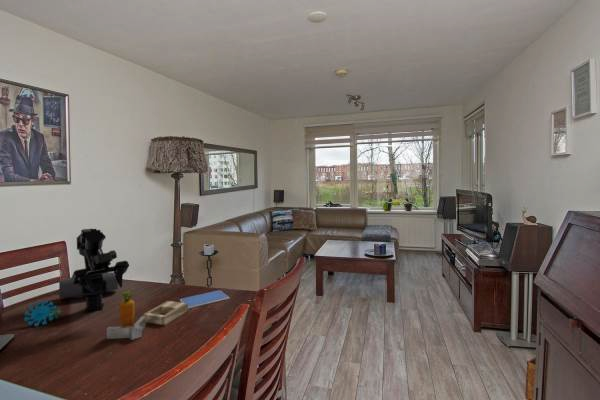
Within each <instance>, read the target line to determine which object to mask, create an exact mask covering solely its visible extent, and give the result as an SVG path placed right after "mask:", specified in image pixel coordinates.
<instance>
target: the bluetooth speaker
mask: <svg viewBox="0 0 600 400" xmlns="http://www.w3.org/2000/svg"><path fill="white" fill-rule="evenodd" d="M102 275H103V279H105V281H106V282H107V292H112V291H116V290H119V284H118V282H117V280H116V278H115V275H116V274H115V273H114V271H113V272H109V273H104V274H102ZM71 278H72V276H70V277H65V278H62V279H59V282H58V284H59V285H58V287H59V288H58V295H59V298H60V299H65V298H67V299H69V298H76V299H83V298H82V292H81V285H77V284H73V283H72V280H71ZM107 292H106V293H107Z"/></svg>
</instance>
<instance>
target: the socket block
mask: <svg viewBox="0 0 600 400" xmlns="http://www.w3.org/2000/svg"><path fill="white" fill-rule="evenodd" d="M188 311H189V309H188V303H181V301H173V300H172V301H171V300H166V301H165V302H162V303H161V304H159V305H157V306H156V307H154V308H152V309H150V310H149V311H146V312H145V313H143V314H142V316H146V324H155V325H162V326H166V325H168V324H169V323H171V322H172V321H174V320H175V319H177V318H179V317H181V315H183V314H185V313H186V312H188Z"/></svg>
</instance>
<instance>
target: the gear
mask: <svg viewBox="0 0 600 400" xmlns="http://www.w3.org/2000/svg"><path fill="white" fill-rule="evenodd" d="M40 304H41V302H40V301H36V302H35V309H34V306H33V305H30V306H29V307H28V310H30V311H31V313H30V312H29V311H27V310H26V311H25V312H24V315H25V316H26V317H24V322H27V324H28V325H29V326H32V325H34V327H39V326H40V323H41V324H42V325H43V326H44V325H45V326H46V325H47V323H48V322H47V318H48V320H49V322H51V321H53V320H54V319H58V318H59V315H60V314H62V312H61V310H60V309H58V310H57V305H54V302H53V301H50V302H49V303H48V300H43V301H42V304H41V305H40ZM29 316H30V317H29Z"/></svg>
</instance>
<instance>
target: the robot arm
mask: <svg viewBox="0 0 600 400" xmlns="http://www.w3.org/2000/svg"><path fill="white" fill-rule="evenodd" d="M101 231H102V230H101V229H97V228H84V229H81V230H80V234H79V235H78V236H77V237H76V250H77V251H78V254H79V255H81V256H82V257H83V260H84V267H85V268H80V269H76V270H74V271H73V273H72V275H71V277H72V278H71V277H70V278H71V280H72V283H73V284H77V285H81V292H82V298H81V299H84V298H85V308H84V313H88V312H95V311H101V310H103V309H104V305H105V303H104V302H103V295H104V294H106V293H107V282H106V281H105V279H103V275H102V274H104V273H110V272H114V273H115V274H116V275H115V278H116V280H117V282H118V287H119V288H123V276H124V274H125V273H127V270H128V268H129V267H130V264H129V262H128V261H127V260H121V261H116V262H115V265H113V266H111V264H112V263H111V262H113V260H115V259H117V257H118V255H117V252H116V250H115V249H114V250H109V251H108V252H106V253H105V252H103V249H102V248H103V242H104V241H105V240H106V235H105V234H104V233H103V231H102V232H101Z"/></svg>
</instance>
